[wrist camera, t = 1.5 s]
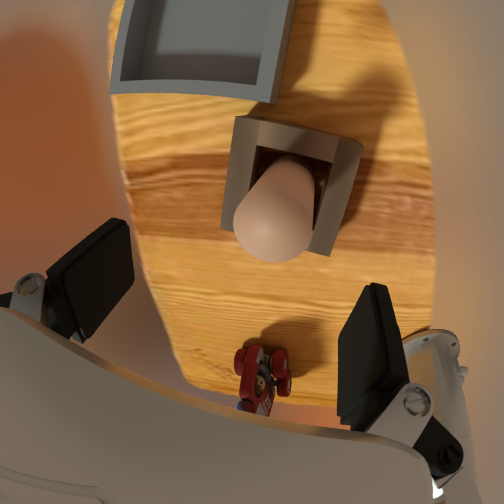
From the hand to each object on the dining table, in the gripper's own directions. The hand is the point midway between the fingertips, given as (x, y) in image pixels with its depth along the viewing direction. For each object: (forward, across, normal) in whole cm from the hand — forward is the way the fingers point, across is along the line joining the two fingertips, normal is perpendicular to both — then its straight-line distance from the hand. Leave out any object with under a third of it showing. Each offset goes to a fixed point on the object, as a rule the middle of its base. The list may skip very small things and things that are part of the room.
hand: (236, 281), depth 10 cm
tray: (+17, +9, -13) cm, 24 cm away
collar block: (+17, -1, +1) cm, 17 cm away
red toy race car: (+16, -4, +28) cm, 32 cm away
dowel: (+17, -1, +1) cm, 17 cm away
